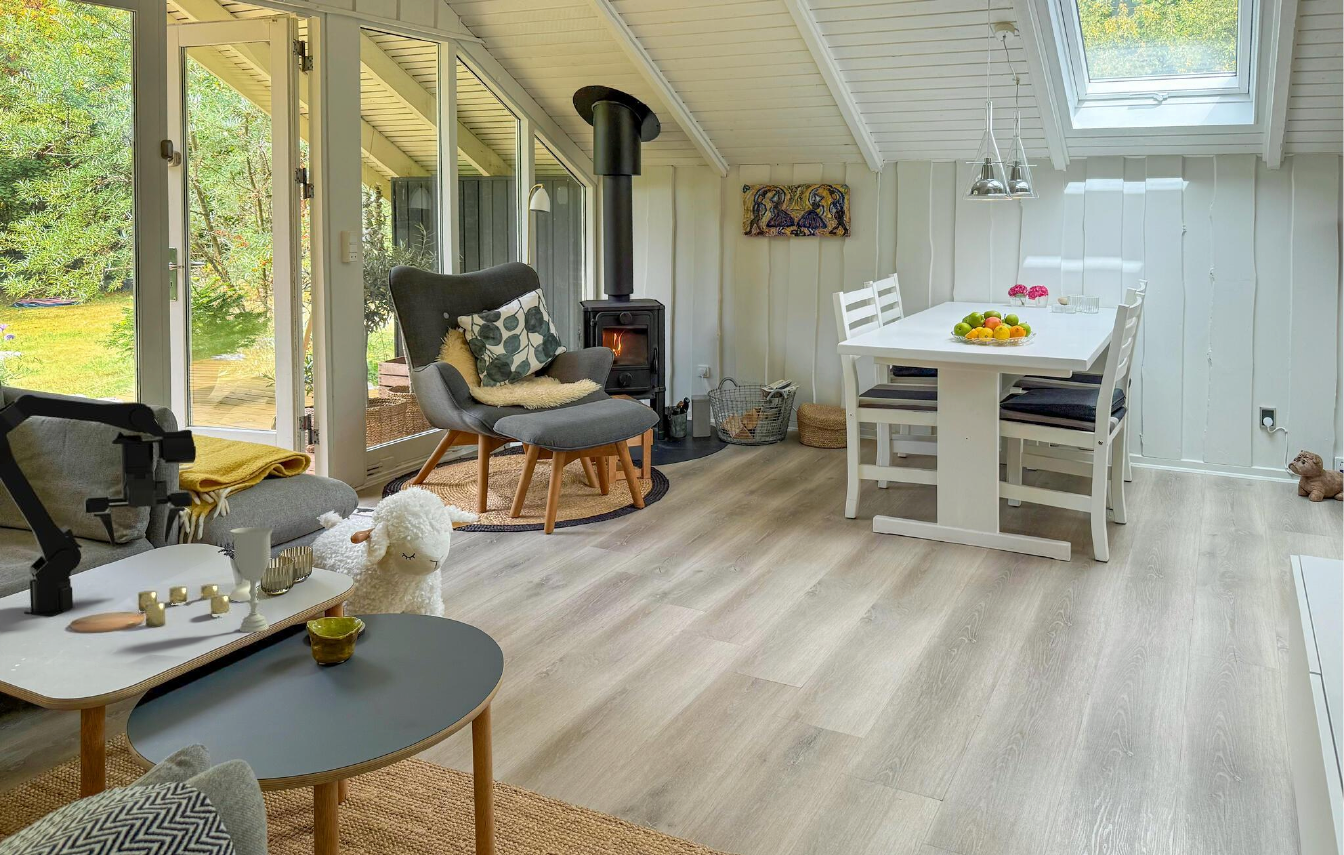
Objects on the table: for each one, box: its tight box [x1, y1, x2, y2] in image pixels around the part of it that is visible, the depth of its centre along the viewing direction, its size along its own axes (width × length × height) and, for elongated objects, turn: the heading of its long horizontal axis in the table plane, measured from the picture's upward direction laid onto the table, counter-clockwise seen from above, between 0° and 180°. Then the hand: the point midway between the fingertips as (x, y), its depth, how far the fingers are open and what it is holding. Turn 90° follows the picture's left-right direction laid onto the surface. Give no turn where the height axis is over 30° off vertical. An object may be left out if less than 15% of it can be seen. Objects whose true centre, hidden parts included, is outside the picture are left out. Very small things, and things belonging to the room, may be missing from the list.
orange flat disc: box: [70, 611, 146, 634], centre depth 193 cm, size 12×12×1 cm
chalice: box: [229, 526, 274, 633], centre depth 190 cm, size 7×7×18 cm
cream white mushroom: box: [229, 576, 257, 600], centre depth 208 cm, size 6×6×8 cm
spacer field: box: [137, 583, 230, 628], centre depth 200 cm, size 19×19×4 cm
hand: (139, 544), depth 208 cm, fingers open, 9 cm apart
